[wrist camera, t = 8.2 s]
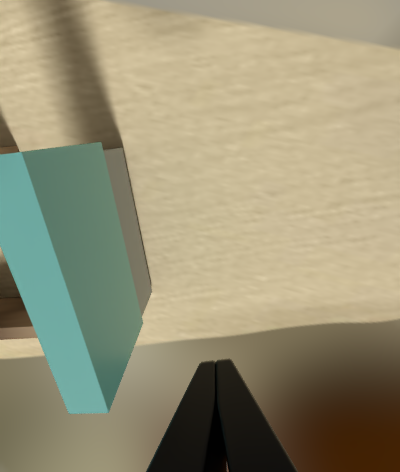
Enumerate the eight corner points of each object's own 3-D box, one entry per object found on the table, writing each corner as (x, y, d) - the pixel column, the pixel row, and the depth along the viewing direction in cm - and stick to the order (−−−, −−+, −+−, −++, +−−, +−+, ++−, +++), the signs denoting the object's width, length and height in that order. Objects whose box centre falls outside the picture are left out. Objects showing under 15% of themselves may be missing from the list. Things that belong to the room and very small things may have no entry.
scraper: (120, 139, 18) (21, 152, 9) (153, 296, 22) (108, 412, 13) (91, 143, 18) (-36, 159, 9) (129, 298, 22) (69, 413, 13)
